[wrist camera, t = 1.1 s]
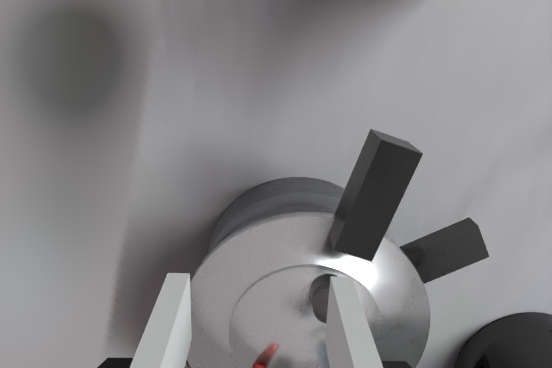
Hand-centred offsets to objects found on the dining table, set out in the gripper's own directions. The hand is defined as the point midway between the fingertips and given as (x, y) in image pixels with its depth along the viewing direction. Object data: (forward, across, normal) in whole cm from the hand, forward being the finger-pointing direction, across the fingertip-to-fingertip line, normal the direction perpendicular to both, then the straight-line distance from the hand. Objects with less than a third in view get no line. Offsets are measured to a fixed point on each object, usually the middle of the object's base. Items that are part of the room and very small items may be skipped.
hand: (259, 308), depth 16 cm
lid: (+16, +4, -11) cm, 20 cm away
